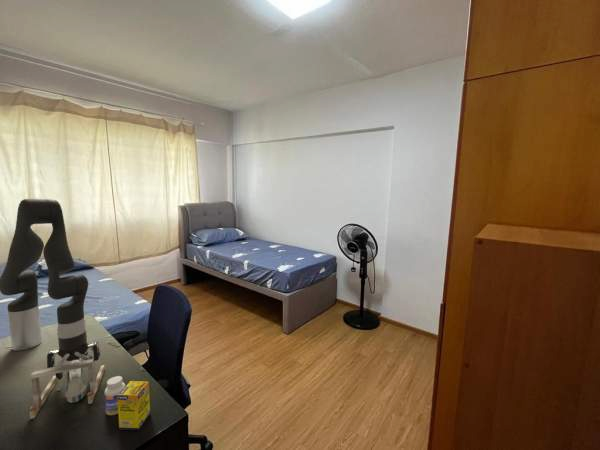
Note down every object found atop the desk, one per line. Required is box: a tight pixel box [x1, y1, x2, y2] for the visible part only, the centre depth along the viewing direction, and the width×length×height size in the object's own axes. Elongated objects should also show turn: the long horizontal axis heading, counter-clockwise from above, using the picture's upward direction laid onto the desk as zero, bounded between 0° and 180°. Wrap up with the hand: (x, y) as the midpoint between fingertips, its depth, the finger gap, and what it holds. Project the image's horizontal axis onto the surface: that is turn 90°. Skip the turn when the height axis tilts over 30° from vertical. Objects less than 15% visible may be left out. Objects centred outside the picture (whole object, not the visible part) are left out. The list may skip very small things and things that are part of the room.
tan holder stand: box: [29, 359, 106, 420], centre depth 91 cm, size 18×16×12 cm
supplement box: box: [117, 380, 151, 431], centre depth 79 cm, size 6×6×11 cm
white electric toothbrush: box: [64, 358, 87, 404], centre depth 95 cm, size 5×7×25 cm
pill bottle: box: [104, 375, 126, 416], centre depth 84 cm, size 5×5×10 cm
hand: (75, 374), depth 95 cm, fingers open, 8 cm apart
